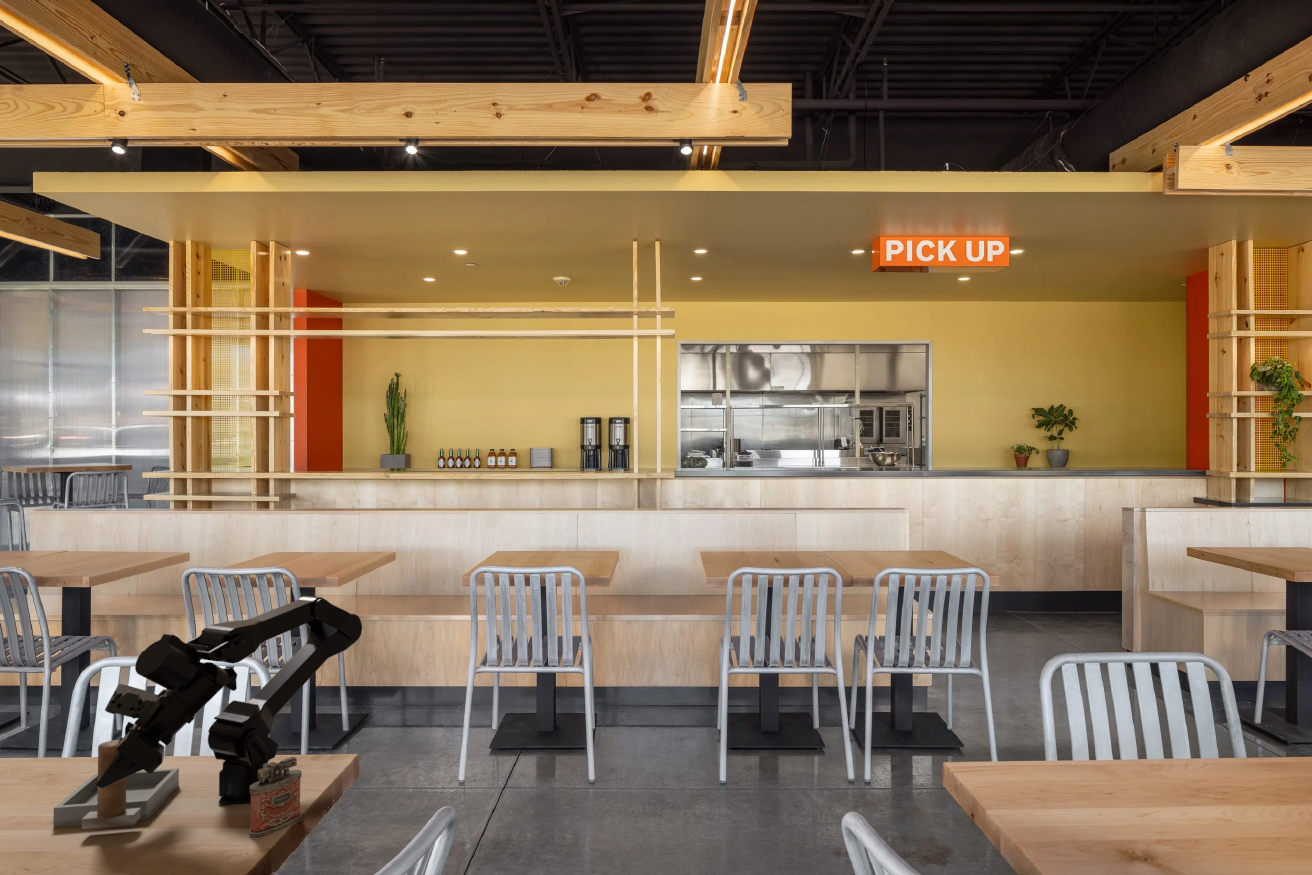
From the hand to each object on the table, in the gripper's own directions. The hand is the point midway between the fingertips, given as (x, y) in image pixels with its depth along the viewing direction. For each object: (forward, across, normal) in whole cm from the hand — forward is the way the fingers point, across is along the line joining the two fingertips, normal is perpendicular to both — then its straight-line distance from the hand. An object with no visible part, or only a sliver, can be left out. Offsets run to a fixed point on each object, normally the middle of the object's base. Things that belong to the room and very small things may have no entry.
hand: (100, 780), depth 121 cm
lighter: (-11, +9, +23) cm, 27 cm away
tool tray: (+5, -10, +6) cm, 13 cm away
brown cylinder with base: (+4, 0, +6) cm, 7 cm away
